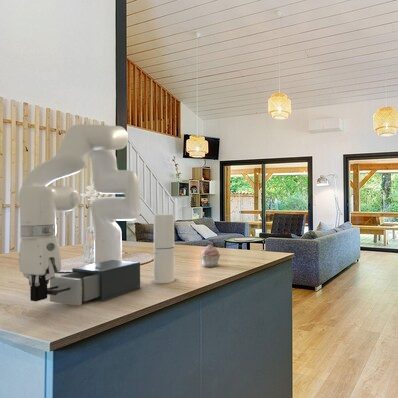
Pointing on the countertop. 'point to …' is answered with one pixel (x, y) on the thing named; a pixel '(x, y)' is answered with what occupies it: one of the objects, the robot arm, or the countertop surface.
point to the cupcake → (210, 256)
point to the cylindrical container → (163, 248)
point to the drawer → (74, 288)
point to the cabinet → (114, 277)
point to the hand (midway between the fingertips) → (39, 299)
